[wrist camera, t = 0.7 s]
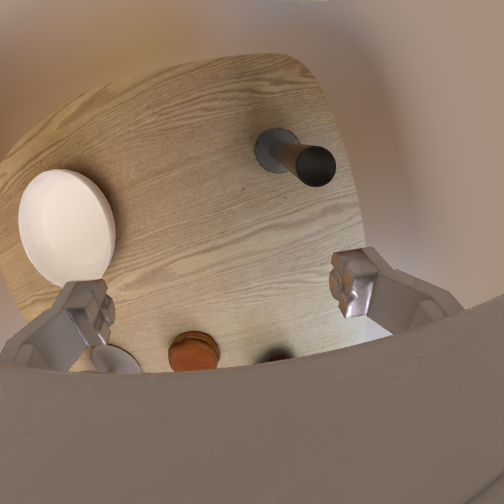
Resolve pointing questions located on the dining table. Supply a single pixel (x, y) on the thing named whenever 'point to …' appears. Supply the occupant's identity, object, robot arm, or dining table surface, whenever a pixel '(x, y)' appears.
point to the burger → (193, 353)
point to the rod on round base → (294, 157)
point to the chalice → (113, 360)
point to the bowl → (66, 227)
